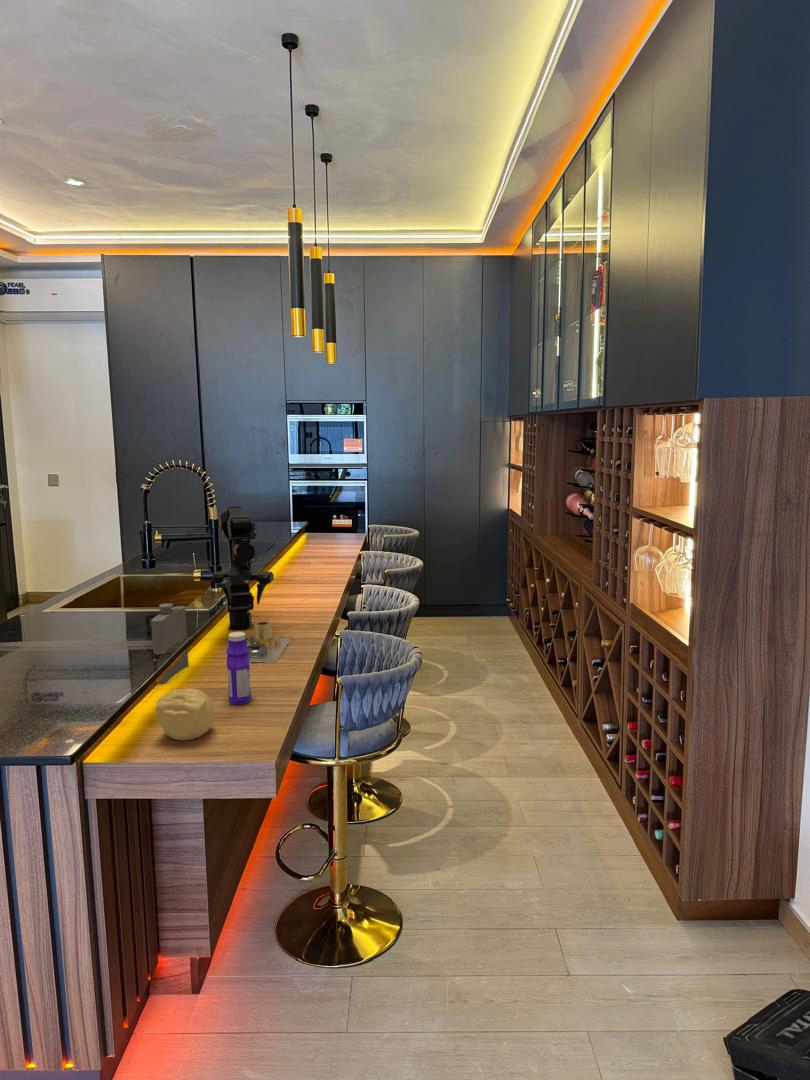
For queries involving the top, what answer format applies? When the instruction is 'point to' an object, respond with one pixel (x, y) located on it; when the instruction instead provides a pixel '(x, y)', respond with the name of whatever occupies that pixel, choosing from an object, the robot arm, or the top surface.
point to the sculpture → (185, 713)
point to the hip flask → (170, 635)
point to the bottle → (238, 669)
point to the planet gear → (264, 635)
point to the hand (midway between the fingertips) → (244, 603)
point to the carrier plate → (271, 652)
